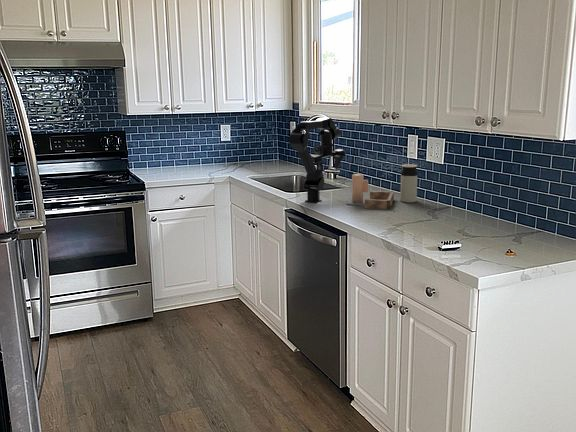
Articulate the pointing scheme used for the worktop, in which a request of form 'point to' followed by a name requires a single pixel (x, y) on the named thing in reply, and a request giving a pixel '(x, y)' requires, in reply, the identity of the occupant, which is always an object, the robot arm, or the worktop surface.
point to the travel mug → (408, 183)
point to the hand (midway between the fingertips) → (328, 171)
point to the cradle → (379, 200)
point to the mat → (355, 203)
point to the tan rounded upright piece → (358, 188)
